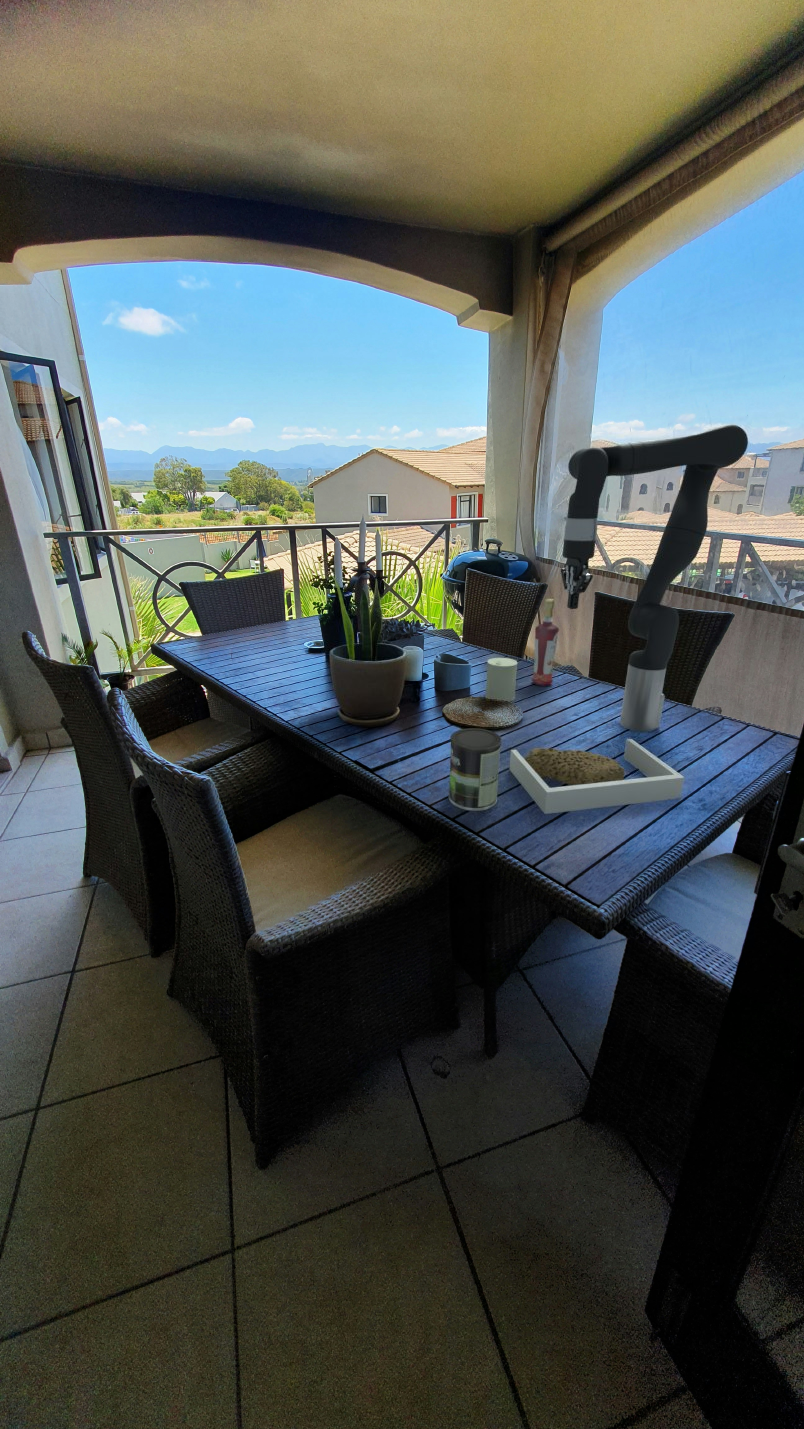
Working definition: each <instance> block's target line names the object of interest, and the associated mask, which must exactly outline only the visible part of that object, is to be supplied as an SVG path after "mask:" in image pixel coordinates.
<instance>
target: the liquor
mask: <svg viewBox="0 0 804 1429" xmlns="http://www.w3.org/2000/svg"><path fill="white" fill-rule="evenodd" d="M544 601H545V602H544V606H545V607H544V608H545V610H544V614H543V620H542V623H540V624H537V625H536V626H535V629H534V630H535V633H534V634H535V636H534V660H533V663H534V664H533V677H532V678H531V681H532V682H533V683H534V685H537V686H539V687H547V686H549V685H551V684H552V683H553V682H554V680H553V672H554V665H555V664H554V663H555V657H556V651H557V645H558V639H559V630H560V628H559V627H558V625H556V624H554V623H553V609H554V604H555V599H553V598H546V599H545V600H544Z"/></svg>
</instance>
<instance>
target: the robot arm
mask: <svg viewBox="0 0 804 1429" xmlns="http://www.w3.org/2000/svg"><path fill="white" fill-rule="evenodd" d="M748 445H749V438H748V435H747V432H746V431H745V430H744V428H742V427H741V426H740V425H737V424H733V423H731V424H730V423H729V424H721V425H719V426H715V427H713V428H709V429H707V430H705V431H703V432H700V433H697V434H690V435H684V436H678V437H669V438H660V439H650V440H642V441H633V442H626V443H625V442H624V443H620V444H616V445H613V446H612V445H611V446H600V447H598V446H591V447H590V446H589V447H587V448H581V449H578V450H576V452H574V453H573V454H572V456H571V457H570V458H569V461H568V465H567V467H568V468H567V469H568V471H569V474H570V476H571V477H573V479H575V480H576V484H575V489H574V491H573V493H571V495H570V497H569V500H568V507H567V508H568V509H567V518H566V523H565V527H564V538H563V547H562V557H563V558H564V559H566V562H565V567H562V568H560V576H561V580H562V584H563V589H564V590H565V591H566V593H567V594H568V596H567V603H566V604H567V605H566V608H568V609H570V610H576V609H578V608H579V600H580V595H581V594H584V593H585V592H586V591H587V589H588V587H589V585H590V584H591V581H592V580H593V577H594V575H593V573H589V571H588V570H589V566H590V565H589V560H590V559H594V557H595V552H596V550H595V549H596V542H597V534H598V516H599V508H600V498H601V496H602V492H603V489H604V487H605V482H606V479H607V477H614V476H615V477H625V476H634V475H642V474H648V473H651V472H657V471H661V470H662V471H663V470H666V469H667V470H668V469H671V468H675V467H683V466H685V469H684V474H683V477H682V481H681V484H680V487H679V490H678V493H677V495H676V497H675V500H674V503H673V506H672V509H671V512H670V514H669V518H668V520H667V523H666V525H665V528H664V530H663V533H662V535H661V539H660V541H659V545H658V548H657V551H656V553H655V556H654V558H653V561H652V564H651V566H650V569H649V570H648V574H647V576H646V578H645V581H644V582H643V585H642V587H641V589H640V592H639V593H638V595H637V598H636V600H635V602H634V604H633V607H632V608H631V610H630V614H629V616H628V621H627V622H628V623H627V627H628V631H629V633H630V634H631V635H632V636H635V637H637V638H640V639H643V640H646V644H645V647H644V649H641V650H636V651H633V652H631V653H630V654H629V658H628V659H629V660H628V666H627V672H626V673H627V674H626V678H625V684H624V685H625V687H624V692H623V698H622V705H621V711H620V716H619V717H620V719H619V724H620V726H622V727H623V728H625V729H628V730H630V731H634V732H641V733H642V732H643V733H644V732H645V733H647V731H648V732H652V731H654V730H656V729H659V728H660V723H661V720H662V714H663V709H664V708H663V707H664V702H665V698H666V696H665V694H664V693H663V688H664V684H665V676H666V672H667V667H668V663H669V661H670V659H671V656H672V655H673V652H674V647H675V643H676V639H677V635H678V630H679V627H680V626H679V625H680V624H679V623H680V618H679V613H678V610H676V609H675V607H671V606H668V605H664V604H661V603H662V600H663V598H664V595H665V593H666V592H667V589H668V588H669V586H670V585H671V584H672V582H674V581H675V579H676V578H678V576H679V575H681V573H682V572H683V571H684V570H686V569H687V567H689V565H690V564H692V563H693V561H694V560H695V559H696V557H697V555H698V553H699V551H700V550H701V547H702V544H703V541H704V538H705V536H706V533H707V529H708V522H709V521H708V516H709V515H708V513H709V512H708V510H709V509H708V499H709V498H708V497H709V494H710V490H711V487H712V485H713V483H714V480H715V477H716V475H717V473H718V471H719V470H720V469H723V468H727V467H730V466H731V465H732V466H733V465H734V464H735V463H737V462H739V460H741V458H742V457H743V456H744V455H745V453H746V451H747V449H748Z"/></svg>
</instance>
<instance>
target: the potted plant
mask: <svg viewBox="0 0 804 1429" xmlns="http://www.w3.org/2000/svg"><path fill="white" fill-rule="evenodd" d="M329 576H330V577H331V578H332V579H333V580H334V582H335V586H336V590H337V594H338V599H339V603H340V608H341V615H342V622H343V623H342V624H343V630H344V634H345V639H346V644H343V645H339V646H336V647H333V648H332V649H330V651H329V668H330V676H331V682H332V688H333V693H334V695H335V696H334V697H335V699H336V701H337V704H338V705H339V708H338V710H337V712H338V716H339V717H340V718H341V719H342V721H343V722H345V723H348V724H351V725H354V726H357V727H365V728H367V727H368V728H369V727H370V728H371V727H378V726H379V727H380V726H385V725H388V724H390V723H392V722H393V721H395V719H397V717H398V716H399V714H400V708H399V707H398V706H399V704H400V702H401V699H402V695H403V692H404V691H403V690H404V686H405V681H406V680H405V679H406V671H407V661H408V660H407V656H408V655H407V654H408V653H407V651H406V649H405V648H402V647H400V646H398V645H395V644H389V643H381V642H380V643H379V639H380V637H381V633H382V631H383V610H382V606H381V599H380V598H381V597H380V592H379V588H378V579H377V578H375V580H374V583H375V585H374V586H375V587H374V594H373V599H372V602H371V609H370V605H369V603H370V602H369V600H368V599H369V598H368V595H367V592H366V589H365V588H364V587H363V588H362V589H361V590H362V591H361V597H360V603H359V612H360V620H361V628H362V630H361V631H362V634H361V635H362V643H355V636H354V635H355V633H354V628H353V624H352V622H351V619H350V616H349V614H348V611H347V609H346V606H345V603H344V599H343V594H342V592H341V589H340V588H341V587H340V586H339V584H338V581H337V579H336V578H335V577H334V576H333V575H332V574H330V573H329Z"/></svg>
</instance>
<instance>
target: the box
mask: <svg viewBox="0 0 804 1429" xmlns="http://www.w3.org/2000/svg"><path fill="white" fill-rule="evenodd" d="M623 758H625V759H624V760H626V761H627V762H628V763H629V762H630V763H629V764H630V765H631V766H633V765H634V766H635V768H636V767H637V768H638V769H639V770H640V771H639V772H641V771H642V772H643V773H644V774H645V775H644V774H643V773H642V772H641V773H642V774H643V775H644V776H646V775H647V776H648V777H647V776H646V777H640V778H638V777H637V778H631V779H630V778H629V779H625V780H620V781H610V782H601V783H592V784H582V785H565V786H556V787H550V786H549V785H548V784H547V783H546V782H545V781H544V780H543V778H542V777H540V776H539V775H538V774H537V773H536V772H535V771H534V770H533V769H532V767H531V766H530V765H529V764H528V763H527V762H526V761H525V757H523V756H522V754H520V753H519V751H518V750H517V749H511V750H510V758H509V771H510V772H511V773H512V774H513V776H514V777H515V778H516V780H517V781H518V782H519V783H520V785H521V786H522V788H523V789H525V791H526V792H527V793H528V795H529V796H530V797H531V798H532V800H533V801H534V802H535V804H536V805H537V806H538V807H539V808H540V810H541V811H542V812H543V813H544V814H545V815H547V814H556V813H564V812H565V813H567V812H573V811H582V810H591V809H599V808H609V807H616V806H617V807H618V806H626V805H633V804H634V805H635V804H642V803H652V802H661V801H662V802H663V801H668V799H670V800H676V799H675V798H679V799H681V796H682V790H683V787H684V782H685V776H683V775H682V774H680V773H679V772H678V771H676V770H675V769H674V768H672V767H671V766H669V765H668V764H667V763H665V762H664V761H662V760H661V759H660V758H659V757H658V756H656V755H654V753H651V752H650V751H649V750H647V749H646V748H645V747H643V746H642V745H641V744H639V743H638V742H636V741H635V740H634V739H632V738H627V739H626V741H625V747H624V754H623ZM634 766H633V767H634ZM637 768H636V769H637ZM638 769H637V770H638Z"/></svg>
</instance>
